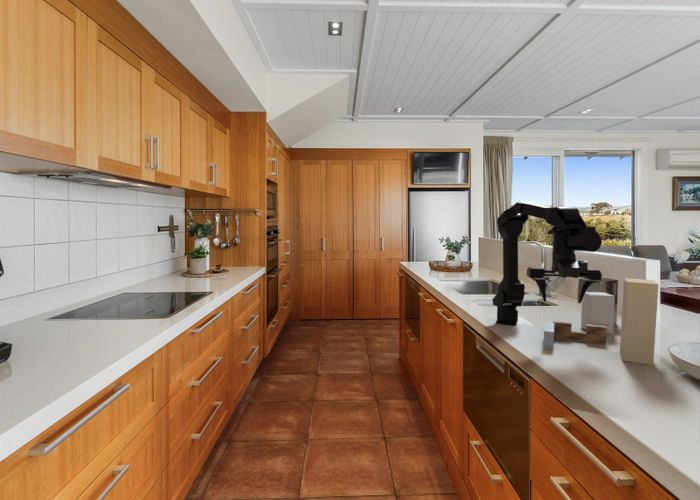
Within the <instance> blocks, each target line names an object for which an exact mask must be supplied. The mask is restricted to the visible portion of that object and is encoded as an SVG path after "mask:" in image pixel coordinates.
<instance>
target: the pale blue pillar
mask: <svg viewBox="0 0 700 500" xmlns="http://www.w3.org/2000/svg"><path fill="white" fill-rule="evenodd" d="M543 329H544V330H543V349H548V350H554V343H555V340H554V339H555V338H554V323H553V322H551V321H549V322H548V321H545V322H544V328H543Z"/></svg>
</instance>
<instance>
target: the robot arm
mask: <svg viewBox="0 0 700 500" xmlns="http://www.w3.org/2000/svg"><path fill="white" fill-rule="evenodd" d="M579 211H580V210H579V209H578V208H577V207H572V206H571V207H564V206H562V207H561V206H558V207H557V206H555V207H551V206H547V205H543V204H539V203H534V202H531V201H517V202H515V204H513V205H512V206H511V207H509V208H508V209H505V210H504V211H502V213H500V215H499V216H498V217H497V219H496V223H497V232H498V233H499V235H500V236H501V237H502V272H503V273H502V275H503V276H502V280H500V283H499V284H498V287H497V292H496V294H495V296H494V297H493V298H492V305H493V306H495V307H497V308H496V321H495V323H496V324H499V325H500V324H502V325H508V326H510V325H511V326H516V324H517V323H519V322H518V321H519V310H518V309H517V308H518V307H519V308H520V307H522V305H523V302H524V299H525V295H526V293H525V292H526V291H525V288H526V287H525V284H524V283H522V282H521V281H520V279H519V237H520V236H521V234H522V233H523V232H524V231H523V229H524V224H526V222H528V220H529V217H534V218H538V219H542V220H544V221H545V222H546V223H547V224H549V226H552V228H551V229H549V230H548V231H547V234H548V235H552V252H551V256H552V257H551V261H552V262H551V269H545V268H543V267H538V266H533V267H532V266H528V268H526V276H527V277H528V278H530V279H531V280H533V281H534V282H535V283H536V285H537V287H538V289H539V292H540V294H541V298H542V301H543V302H544V303H545V302H547V290H546V289H547V288H546V281H547V280H546V279H545V277H560V278H574V279H577V278H578V287H577V304H582V299H583V297H584V295H585V292H586V290H587V289H588V287H589V286H590V285H591V284H592V283H596V281H594V280H602V278H603V274H602V271H601V270H600V269H596V268H588V267H589V265H588V261H587V260H586V259H585V260H583V259H580V260H579V259H578V261H577V257H576V253H575V252H587V253H588V252H589V253H595V252H597V251H598V250H599V249H601V245H602V241H603V240H602V238H601V235H600V233H599V232H598V231H597V228H596V226H587V224H586V222H585V220H584V219H583V217H582V216H581V214H580V212H579Z"/></svg>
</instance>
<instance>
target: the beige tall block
mask: <svg viewBox="0 0 700 500" xmlns="http://www.w3.org/2000/svg"><path fill="white" fill-rule="evenodd" d="M658 295H659V283H658V282H657V281H655V280H654V279H645V278H644V279H643V278H630V277H628V278H627V277H624V278H623V292H622V305H621V306H622V307H621V323H620V324H621V326H620V342H619V353H620V358H621V360H622V361H623V362H629V363H636V364H642V365H649V366H654V359H655V345H656V344H655V343H656V330H657V329H656V328H657V326H656V325H657V312H658V301H659V297H658Z"/></svg>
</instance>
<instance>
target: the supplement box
mask: <svg viewBox="0 0 700 500" xmlns="http://www.w3.org/2000/svg"><path fill="white" fill-rule="evenodd" d="M614 300H615V296H613V295H610V294H607V293H604V292H585V295H584V297H583V299H582V301H581V315H580V316H581V320H580V327H581V329H584V330H585V331H586V324H589V325H599V326H606V334H612V335H613V334H614V324H615V323H614Z"/></svg>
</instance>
